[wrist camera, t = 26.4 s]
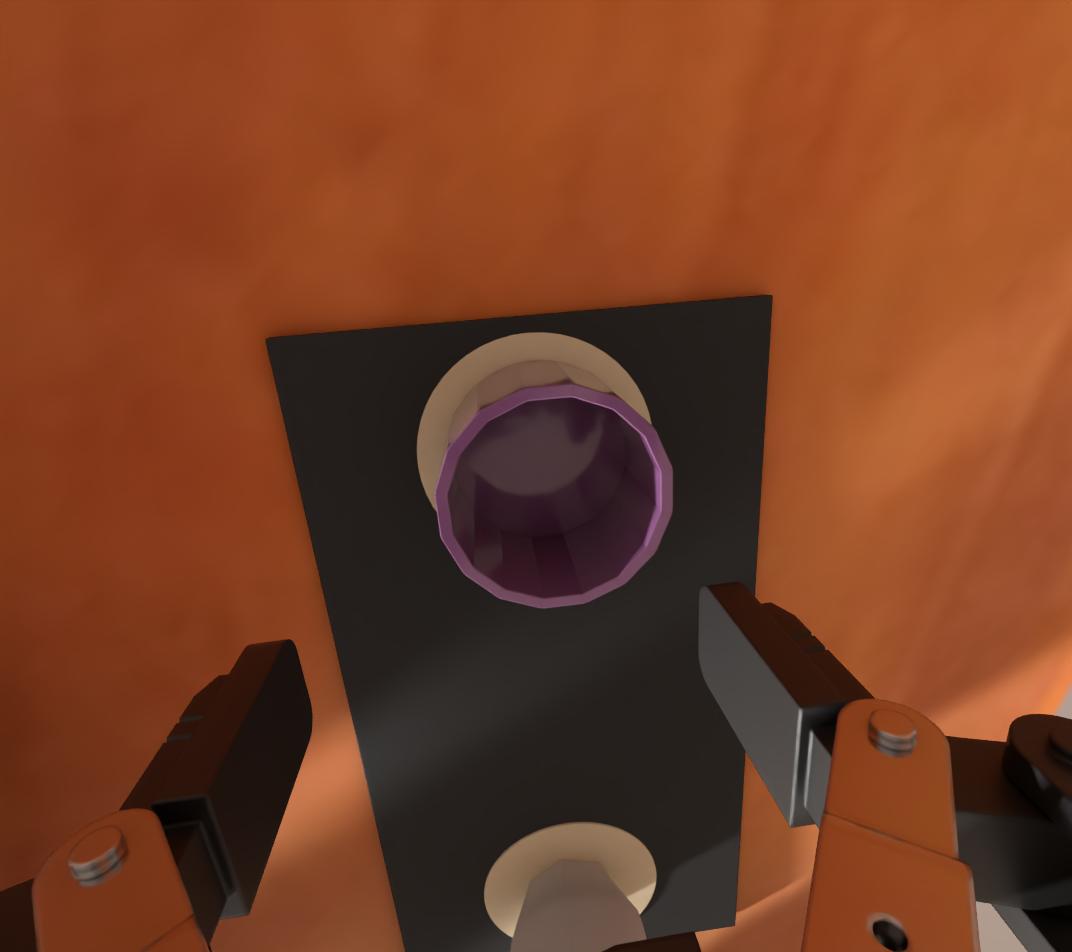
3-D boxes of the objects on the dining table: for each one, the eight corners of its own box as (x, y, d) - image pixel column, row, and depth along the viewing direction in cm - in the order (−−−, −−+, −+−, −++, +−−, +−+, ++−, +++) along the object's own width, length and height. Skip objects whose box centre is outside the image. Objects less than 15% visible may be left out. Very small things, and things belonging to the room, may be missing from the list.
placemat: (411, 967, 28) (410, 979, 27) (268, 337, 18) (263, 339, 17) (732, 917, 29) (736, 928, 28) (767, 294, 19) (774, 295, 18)
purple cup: (457, 548, 20) (452, 620, 16) (433, 368, 18) (419, 397, 14) (633, 528, 21) (673, 593, 16) (629, 351, 19) (674, 373, 14)
